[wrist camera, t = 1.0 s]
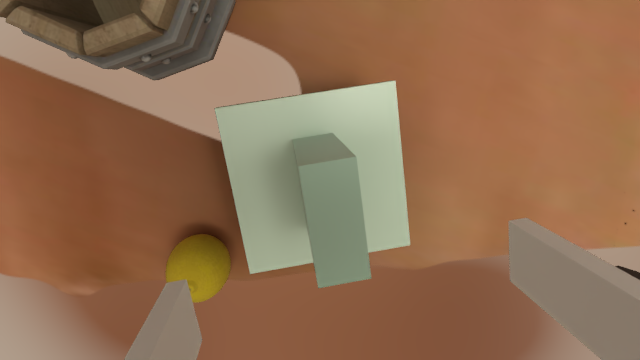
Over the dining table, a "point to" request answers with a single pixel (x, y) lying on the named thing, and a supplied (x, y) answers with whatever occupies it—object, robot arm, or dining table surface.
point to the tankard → (126, 31)
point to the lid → (318, 179)
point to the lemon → (199, 265)
